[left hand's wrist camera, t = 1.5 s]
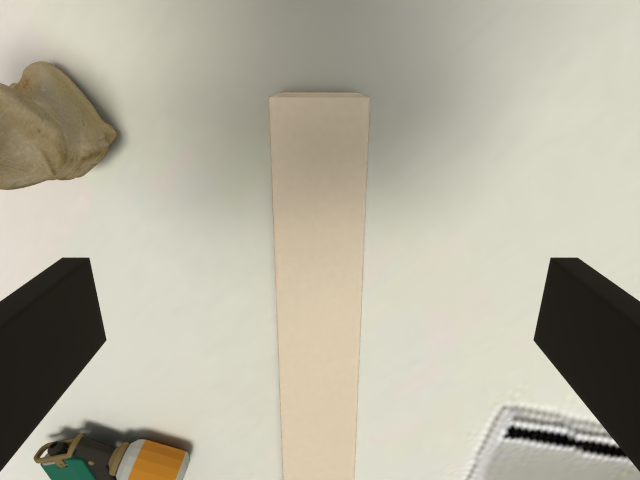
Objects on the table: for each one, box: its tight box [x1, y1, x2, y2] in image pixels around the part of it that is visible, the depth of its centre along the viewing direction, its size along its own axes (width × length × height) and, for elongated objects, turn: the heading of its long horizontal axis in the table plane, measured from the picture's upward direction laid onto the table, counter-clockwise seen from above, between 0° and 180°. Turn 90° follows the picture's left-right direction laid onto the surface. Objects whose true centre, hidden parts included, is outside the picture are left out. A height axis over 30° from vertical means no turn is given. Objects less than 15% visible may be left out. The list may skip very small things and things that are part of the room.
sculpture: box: [0, 62, 117, 190], centre depth 23 cm, size 6×7×15 cm
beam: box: [269, 92, 370, 480], centre depth 36 cm, size 55×6×7 cm, turn 0°
